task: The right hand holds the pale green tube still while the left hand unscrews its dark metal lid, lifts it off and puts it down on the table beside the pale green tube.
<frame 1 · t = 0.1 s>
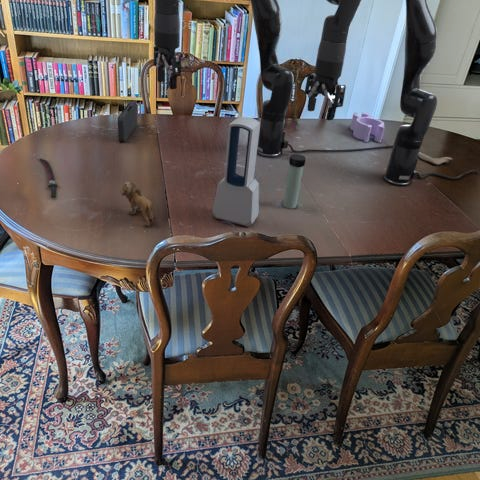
left hand: (166, 85, 147), 30 cm above the table, tool pointing down, fingers open, 8 cm apart
right hand: (319, 115, 137), 29 cm above the table, tool pointing down, fingers open, 8 cm apart
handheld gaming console: (128, 132, 191), on the table
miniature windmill: (287, 126, 216), on the table
jawbone: (427, 156, 199), on the table
clip: (364, 134, 216), on the table
lid: (297, 158, 142), point 16 cm above the table, screwed on, not yet turned
sword: (47, 177, 151), on the table
electronic device: (234, 219, 140), on the table
lion figurine: (139, 216, 136), on the table
pale green tube: (289, 205, 151), on the table
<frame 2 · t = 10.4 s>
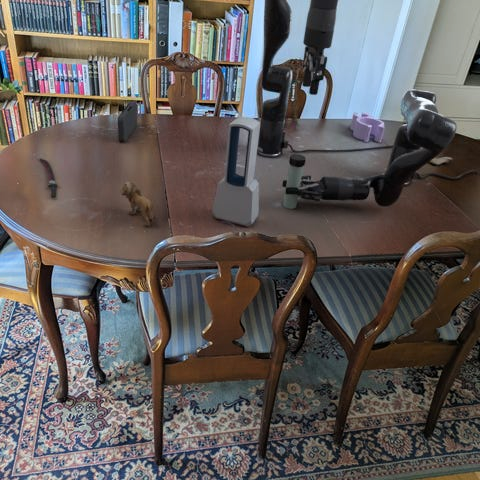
left hand: (309, 90, 131), 37 cm above the table, tool pointing down, fingers open, 7 cm apart
right hand: (284, 187, 147), 6 cm above the table, tool horizontal, fingers closed on pale green tube, 4 cm apart
pale green tube: (289, 205, 151), on the table, touching right hand
everything else where it was.
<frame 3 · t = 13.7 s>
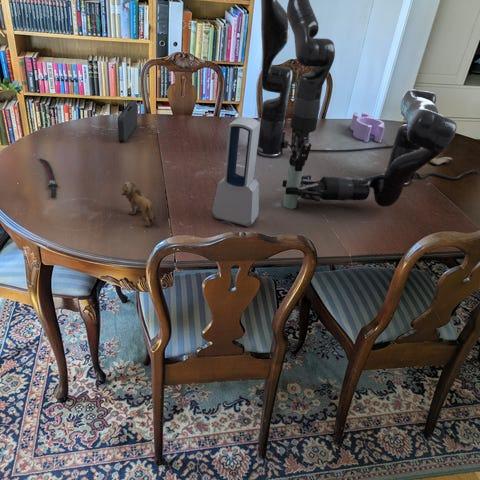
left hand: (296, 167, 143), 13 cm above the table, tool pointing down, fingers closed on lid, 4 cm apart
right hand: (284, 187, 147), 6 cm above the table, tool horizontal, fingers closed on pale green tube, 4 cm apart
lid: (297, 158, 142), point 16 cm above the table, screwed on, not yet turned, touching left hand
pale green tube: (289, 205, 151), on the table, touching right hand
everything else where it was.
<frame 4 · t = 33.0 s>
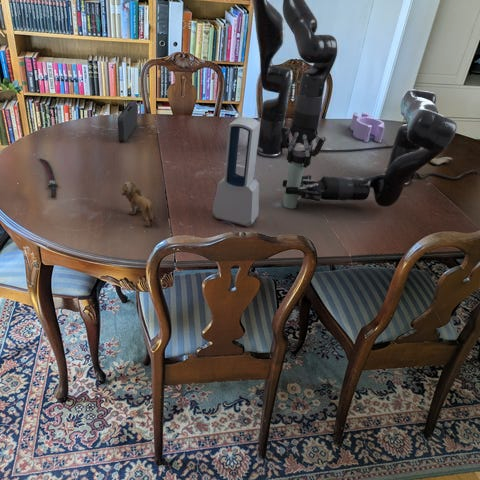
left hand: (297, 164, 143), 14 cm above the table, tool pointing down, fingers closed on lid, 4 cm apart
right hand: (284, 186, 147), 7 cm above the table, tool horizontal, fingers closed on pale green tube, 4 cm apart
lid: (299, 155, 141), point 17 cm above the table, off its thread, touching left hand
pale green tube: (289, 205, 151), on the table, touching left hand, right hand
everything else where it was.
when the left hand's fingers open (0 cm above the table, at t = 40.4 s): lid drops 1 cm, point 2 cm above the table.
when the right hand's fingers open (7 cm above the table, at t = 41.4 s): pale green tube stays where it is, on the table.
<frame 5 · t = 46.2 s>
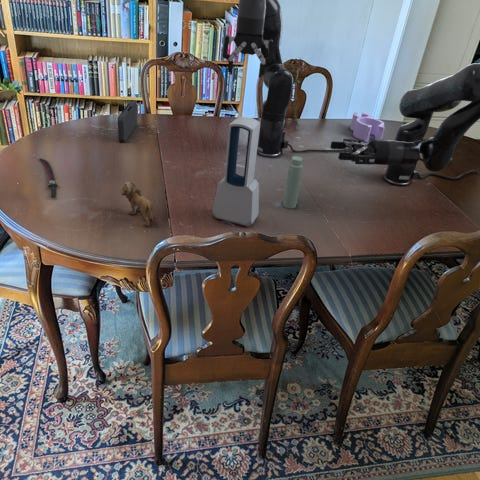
left hand: (245, 75, 137), 37 cm above the table, tool pointing down, fingers open, 8 cm apart
right hand: (335, 150, 142), 19 cm above the table, tool horizontal, fingers open, 8 cm apart
lid: (235, 183, 156), point 2 cm above the table, off its thread
pale green tube: (289, 205, 151), on the table
everything else where it was.
at the end: lid came off its thread; lid point 1.9 cm above the table; the left hand is holding nothing; the right hand is holding nothing; pale green tube tilted 0°; pale green tube moved 0.1 cm from its start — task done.
